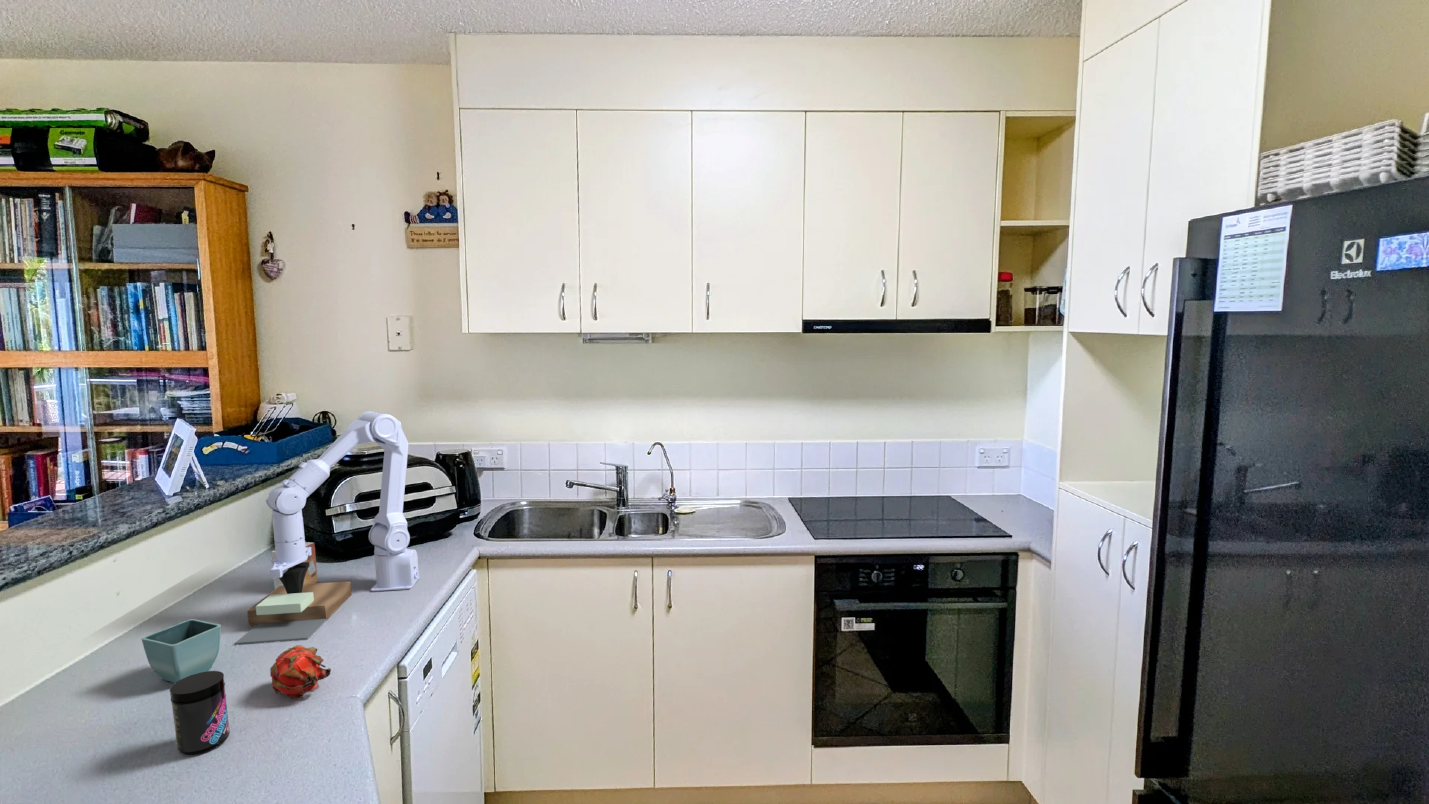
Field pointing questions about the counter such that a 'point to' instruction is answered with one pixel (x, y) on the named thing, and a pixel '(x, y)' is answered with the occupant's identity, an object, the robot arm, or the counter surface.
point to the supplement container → (200, 712)
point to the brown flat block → (322, 607)
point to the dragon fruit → (297, 671)
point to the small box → (311, 572)
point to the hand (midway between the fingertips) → (295, 596)
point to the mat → (281, 631)
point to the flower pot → (183, 649)
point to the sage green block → (284, 603)
